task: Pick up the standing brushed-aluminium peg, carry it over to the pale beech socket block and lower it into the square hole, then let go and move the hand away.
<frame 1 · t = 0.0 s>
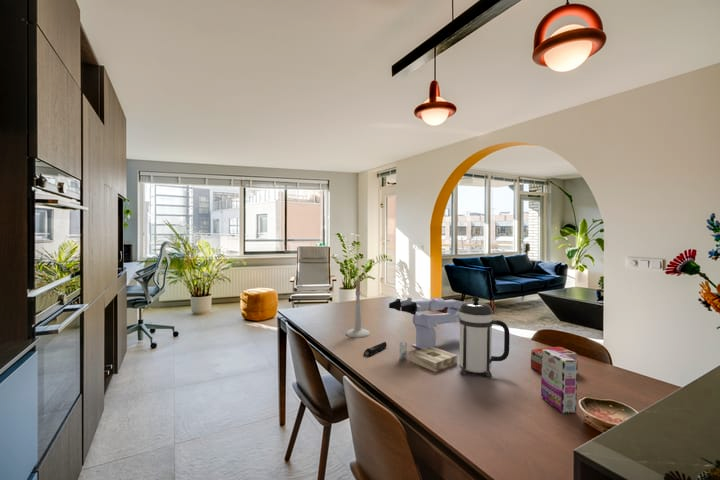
hand: (395, 307, 154), 22 cm above the table, tool horizontal, fingers open, 7 cm apart
socket block: (433, 362, 146), on the table
medicine box: (553, 371, 139), on the table
coffee press: (478, 371, 137), on the table
electric trimmer: (375, 352, 159), on the table
candy bar box: (558, 405, 111), on the table
peg: (403, 359, 149), on the table
candlestick: (357, 334, 186), on the table
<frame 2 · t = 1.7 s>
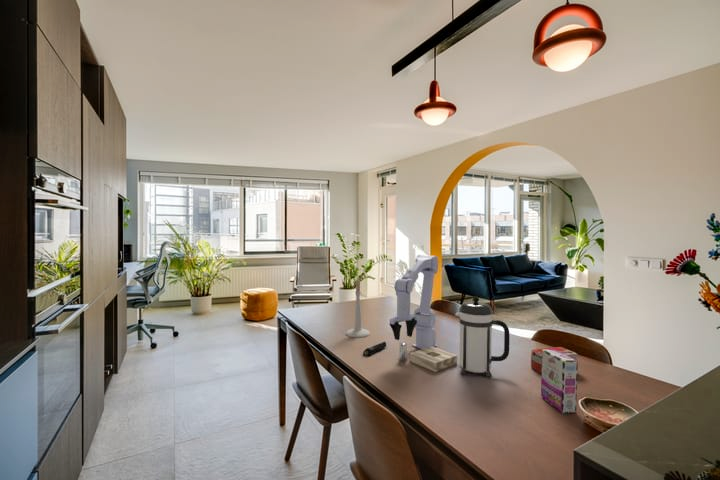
hand: (403, 337, 149), 10 cm above the table, tool pointing down, fingers open, 7 cm apart
nothing on the table moved.
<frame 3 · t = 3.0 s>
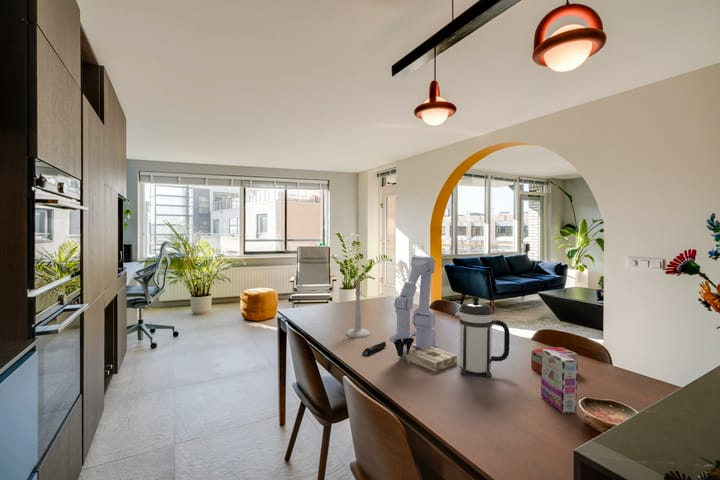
hand: (403, 355, 149), 2 cm above the table, tool pointing down, fingers closed on peg, 3 cm apart
peg: (403, 359, 149), on the table, touching gripper
everything else where it was.
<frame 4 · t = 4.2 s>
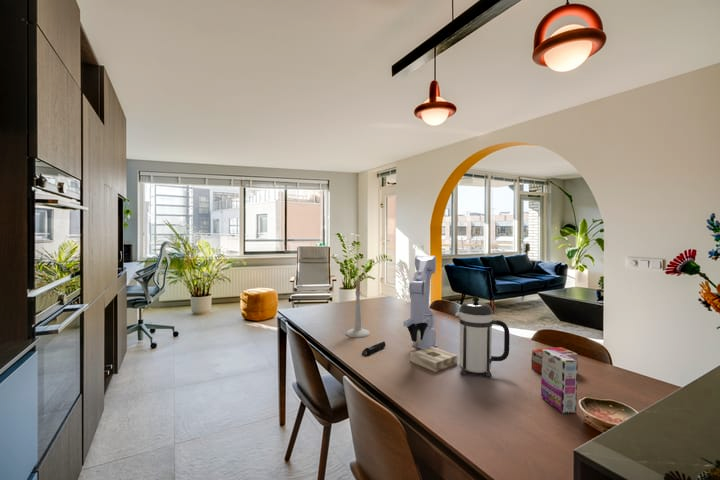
hand: (417, 340, 148), 9 cm above the table, tool pointing down, fingers closed on peg, 3 cm apart
peg: (416, 345, 148), point 7 cm above the table, touching gripper
everything else where it was.
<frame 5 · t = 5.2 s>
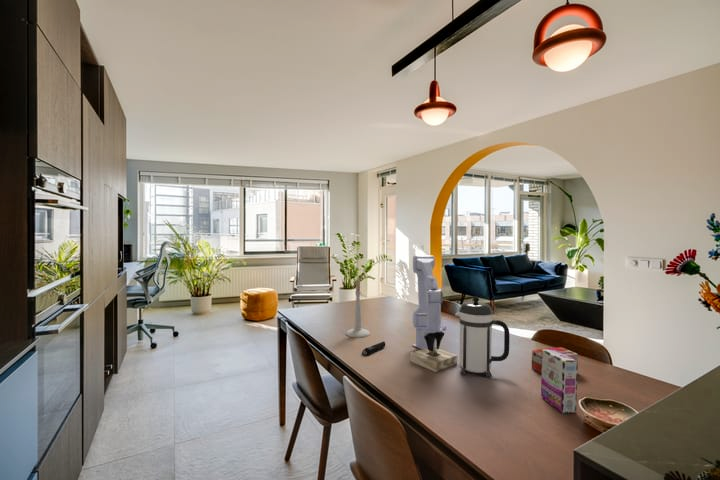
hand: (433, 349, 146), 5 cm above the table, tool pointing down, fingers closed on peg, 3 cm apart
peg: (433, 354, 146), point 3 cm above the table, touching gripper
when the fingers open (4 cm above the table, at t = 5.7 s): peg drops 2 cm, resting in socket block.
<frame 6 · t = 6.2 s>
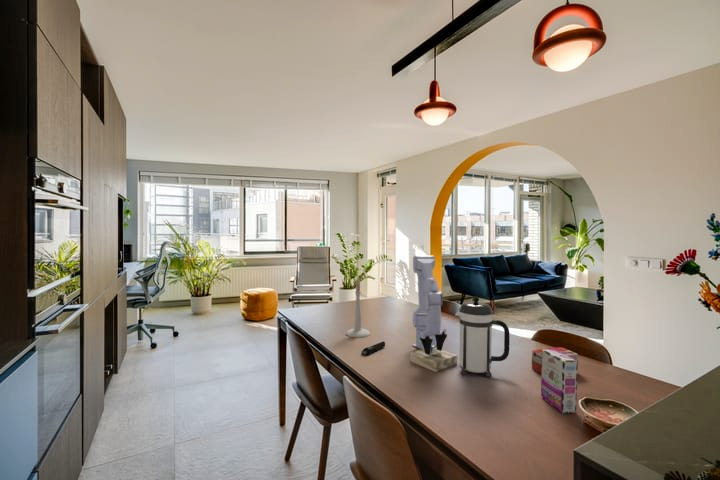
hand: (433, 352, 146), 4 cm above the table, tool pointing down, fingers open, 7 cm apart
peg: (432, 362, 147), resting in socket block
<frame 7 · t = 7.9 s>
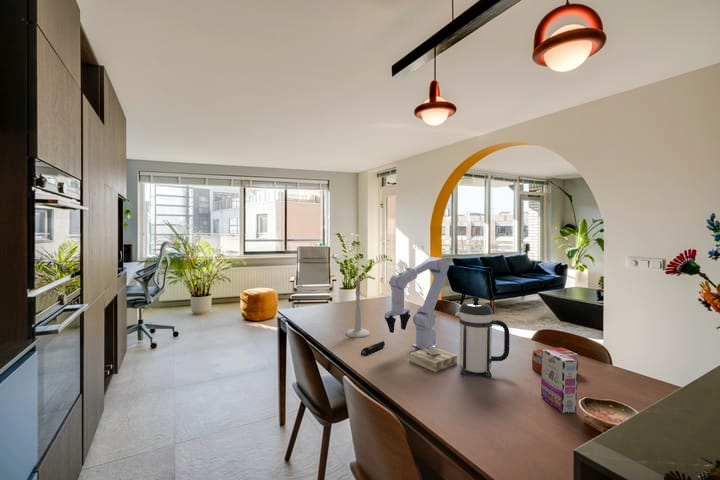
hand: (397, 330, 158), 10 cm above the table, tool pointing down, fingers open, 7 cm apart
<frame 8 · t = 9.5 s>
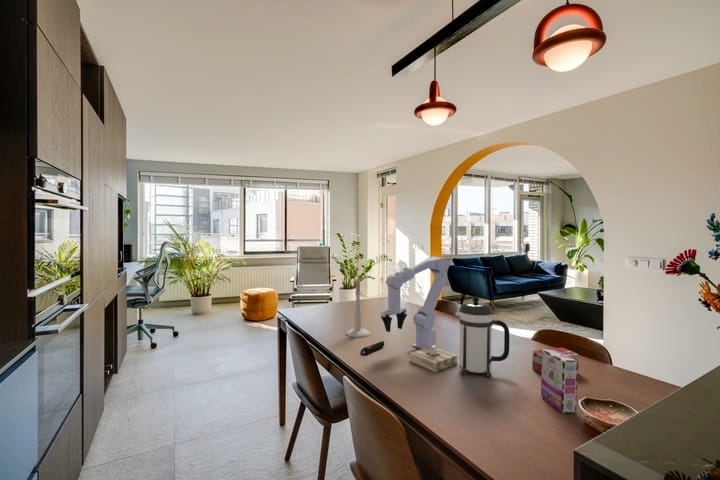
hand: (393, 330, 159), 10 cm above the table, tool pointing down, fingers open, 7 cm apart
at the end: peg 0.2 cm off-centre on the socket block, point 0.0 cm above the socket block's base; peg tilted 0°; the gripper is holding nothing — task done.
